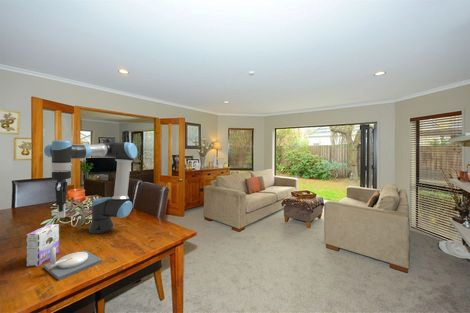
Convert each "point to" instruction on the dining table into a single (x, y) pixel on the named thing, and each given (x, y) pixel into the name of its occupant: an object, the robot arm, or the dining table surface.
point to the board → (65, 272)
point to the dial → (68, 259)
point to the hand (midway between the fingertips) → (61, 217)
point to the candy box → (41, 244)
